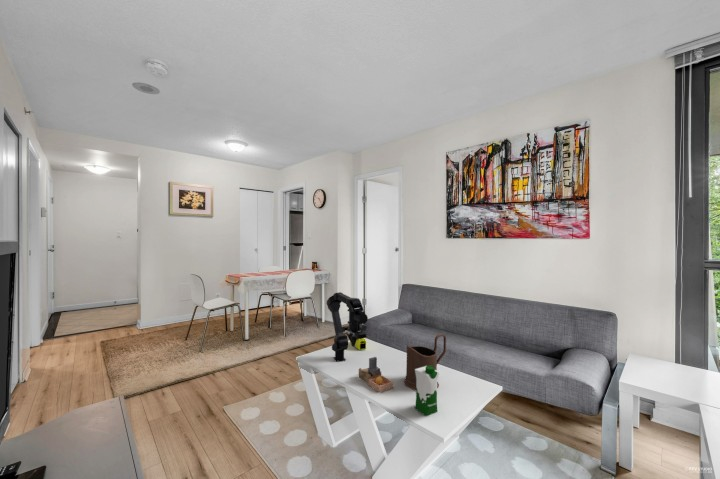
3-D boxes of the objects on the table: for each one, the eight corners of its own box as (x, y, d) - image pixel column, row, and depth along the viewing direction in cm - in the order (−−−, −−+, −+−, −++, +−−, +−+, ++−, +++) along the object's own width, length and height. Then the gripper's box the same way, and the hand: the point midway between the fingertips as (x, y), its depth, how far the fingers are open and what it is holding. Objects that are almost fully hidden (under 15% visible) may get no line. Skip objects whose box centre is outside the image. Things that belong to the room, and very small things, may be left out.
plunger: (368, 373, 169) (368, 358, 169) (375, 371, 171) (375, 356, 171) (372, 376, 165) (372, 360, 165) (380, 374, 168) (380, 359, 168)
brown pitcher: (397, 378, 173) (398, 333, 173) (435, 372, 182) (435, 329, 182) (414, 394, 156) (415, 343, 156) (455, 386, 164) (456, 339, 164)
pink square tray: (368, 385, 165) (368, 379, 165) (382, 380, 170) (382, 375, 170) (379, 392, 157) (379, 386, 157) (393, 387, 162) (393, 382, 162)
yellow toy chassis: (349, 344, 229) (349, 332, 229) (356, 343, 231) (356, 331, 231) (359, 351, 214) (359, 339, 214) (366, 350, 217) (366, 338, 217)
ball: (380, 385, 161) (376, 387, 164) (385, 381, 164) (381, 383, 167) (376, 378, 163) (372, 380, 165) (381, 374, 165) (377, 376, 168)
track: (358, 377, 173) (358, 368, 173) (370, 374, 178) (370, 365, 178) (369, 384, 165) (369, 375, 165) (381, 381, 170) (381, 371, 170)
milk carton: (426, 417, 135) (426, 371, 135) (411, 408, 143) (412, 364, 143) (440, 412, 140) (441, 367, 140) (426, 402, 148) (426, 360, 148)
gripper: (374, 321, 182) (373, 348, 182) (356, 315, 198) (356, 339, 198) (358, 324, 176) (357, 352, 176) (341, 317, 192) (340, 342, 192)
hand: (353, 346), depth 186 cm, fingers closed
